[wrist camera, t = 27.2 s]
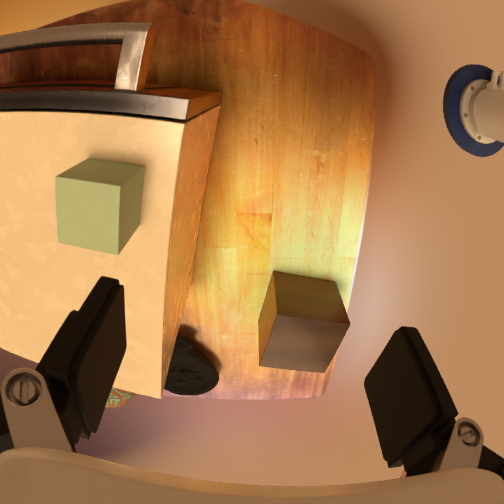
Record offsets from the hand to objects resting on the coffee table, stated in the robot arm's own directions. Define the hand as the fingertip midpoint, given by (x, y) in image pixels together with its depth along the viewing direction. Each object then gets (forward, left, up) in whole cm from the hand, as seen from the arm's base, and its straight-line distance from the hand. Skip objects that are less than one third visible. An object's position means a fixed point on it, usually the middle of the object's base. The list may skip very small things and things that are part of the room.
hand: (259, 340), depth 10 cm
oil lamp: (+48, -5, -42) cm, 64 cm away
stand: (+28, +14, -41) cm, 52 cm away
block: (+2, -11, -15) cm, 19 cm away
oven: (+12, -26, -41) cm, 50 cm away
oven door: (-8, -26, -41) cm, 49 cm away
